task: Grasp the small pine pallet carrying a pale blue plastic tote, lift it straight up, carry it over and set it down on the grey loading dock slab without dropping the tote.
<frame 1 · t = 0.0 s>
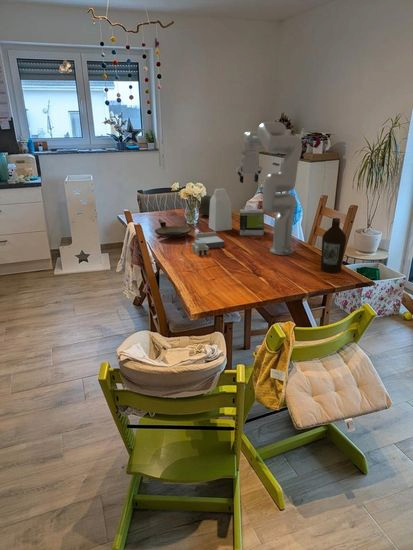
hand: (248, 182, 243), 31 cm above the table, tool pointing down, fingers open, 9 cm apart
tea box: (251, 233, 249), on the table
tote: (200, 245, 214), point 4 cm above the table, touching pallet
milk: (220, 228, 262), on the table
pallet: (200, 252, 215), on the table, touching tote
dock: (210, 244, 229), on the table
oil lamp: (172, 236, 246), on the table
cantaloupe: (206, 215, 296), on the table
olive oil: (330, 270, 188), on the table
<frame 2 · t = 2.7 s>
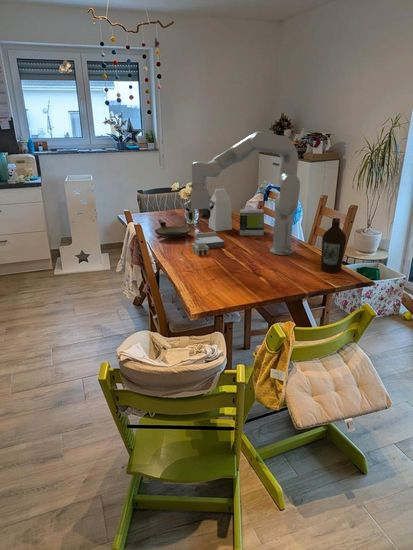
hand: (199, 218, 209), 18 cm above the table, tool pointing down, fingers open, 9 cm apart
tote: (200, 245, 214), point 4 cm above the table
pallet: (200, 252, 215), on the table
everything else where it was.
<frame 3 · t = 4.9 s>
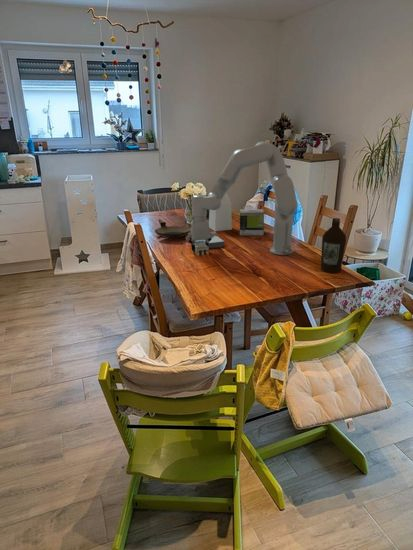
hand: (200, 250, 215), 1 cm above the table, tool pointing down, fingers closed on pallet, 6 cm apart
tote: (199, 244, 214), point 4 cm above the table, touching pallet
pallet: (200, 252, 215), on the table, touching gripper, tote
everything else where it was.
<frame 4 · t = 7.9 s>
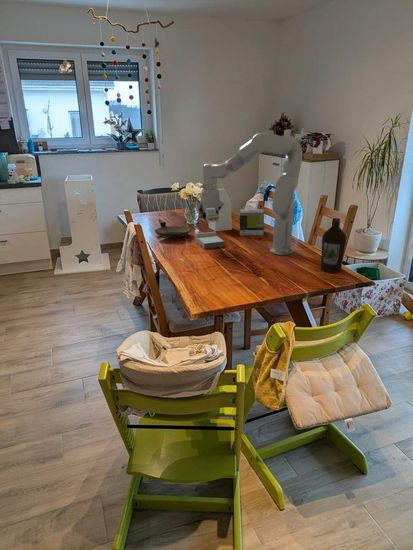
hand: (210, 218, 222), 15 cm above the table, tool pointing down, fingers closed on pallet, 6 cm apart
tote: (210, 213, 221), point 18 cm above the table, touching pallet
pallet: (210, 220, 222), point 14 cm above the table, touching gripper, tote
everything else where it was.
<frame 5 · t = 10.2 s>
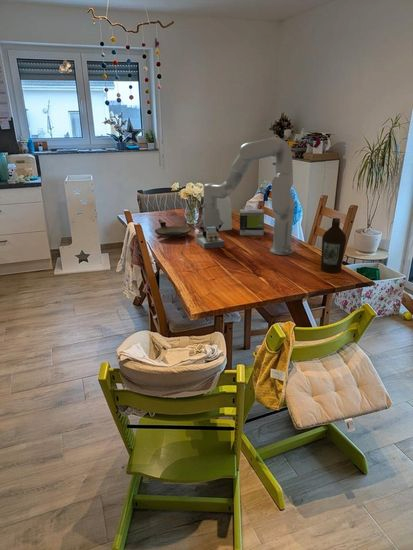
hand: (210, 236, 226), 5 cm above the table, tool pointing down, fingers closed on pallet, 6 cm apart
tote: (210, 231, 225), point 8 cm above the table, touching pallet
pallet: (210, 238, 227), point 4 cm above the table, touching gripper, tote
everything else where it was.
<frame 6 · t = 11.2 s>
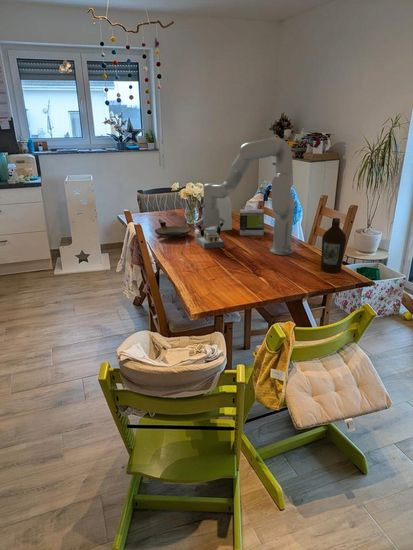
hand: (210, 235, 226), 5 cm above the table, tool pointing down, fingers open, 9 cm apart
pallet: (210, 239, 227), point 3 cm above the table, touching dock, tote
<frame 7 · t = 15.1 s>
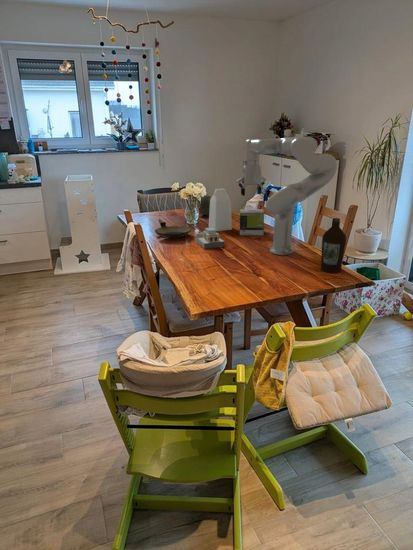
hand: (251, 194, 219), 28 cm above the table, tool pointing down, fingers open, 9 cm apart
nothing on the table moved.
at the end: pallet inside the target area on the dock (0.4 cm from its centre), point 3.0 cm above the dock's base; tote 0.3 cm off-centre on the pallet, point 4.0 cm above the pallet's base; pallet tilted 0° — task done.
